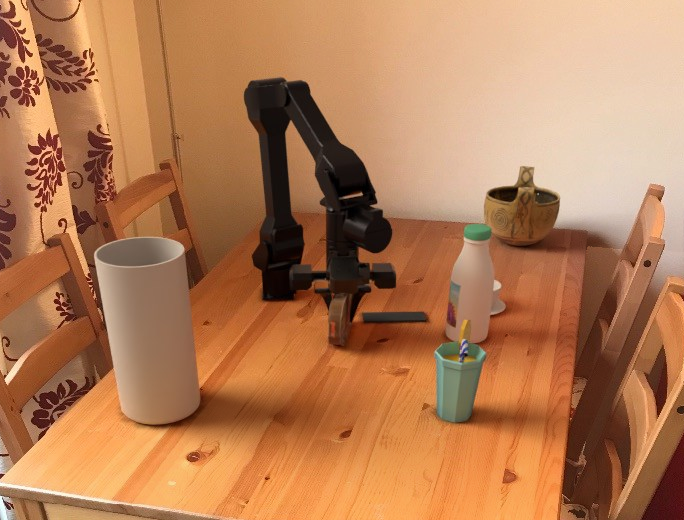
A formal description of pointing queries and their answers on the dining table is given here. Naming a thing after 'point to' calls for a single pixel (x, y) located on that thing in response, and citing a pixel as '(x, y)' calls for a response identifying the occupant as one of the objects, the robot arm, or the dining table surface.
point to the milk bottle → (471, 285)
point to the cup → (458, 376)
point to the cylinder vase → (149, 327)
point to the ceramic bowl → (521, 210)
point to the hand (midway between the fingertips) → (341, 321)
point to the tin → (339, 318)
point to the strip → (393, 317)
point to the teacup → (496, 303)
